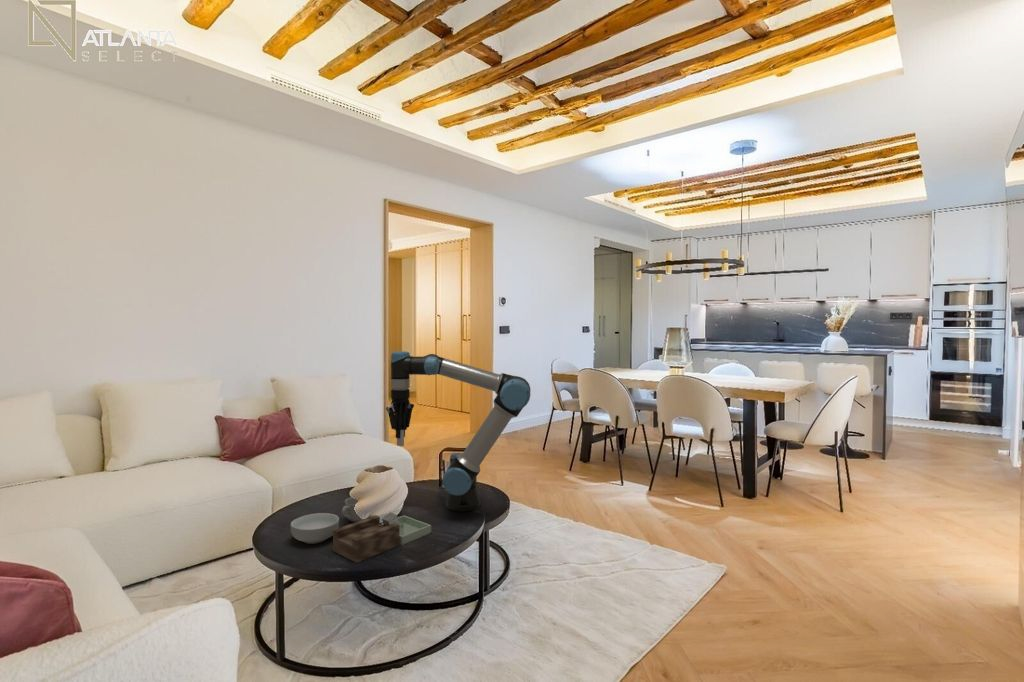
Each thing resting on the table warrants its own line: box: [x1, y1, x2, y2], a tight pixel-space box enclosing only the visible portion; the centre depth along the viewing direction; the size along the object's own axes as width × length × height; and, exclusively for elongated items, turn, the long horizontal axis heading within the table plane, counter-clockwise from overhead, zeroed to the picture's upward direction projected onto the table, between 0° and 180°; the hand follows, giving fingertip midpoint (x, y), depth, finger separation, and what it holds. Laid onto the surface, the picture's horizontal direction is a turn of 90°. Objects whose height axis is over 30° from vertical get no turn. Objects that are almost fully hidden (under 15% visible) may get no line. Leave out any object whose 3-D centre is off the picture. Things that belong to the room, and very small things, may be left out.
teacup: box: [341, 496, 362, 523], centre depth 209 cm, size 14×11×8 cm
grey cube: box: [399, 522, 404, 535], centre depth 194 cm, size 4×4×4 cm
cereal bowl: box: [290, 512, 340, 545], centre depth 191 cm, size 17×17×7 cm
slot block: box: [332, 515, 401, 564], centre depth 184 cm, size 18×14×8 cm
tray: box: [381, 514, 432, 546], centre depth 197 cm, size 14×16×3 cm
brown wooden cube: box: [381, 511, 400, 526], centre depth 192 cm, size 4×4×4 cm
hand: (400, 445), depth 214 cm, fingers closed
